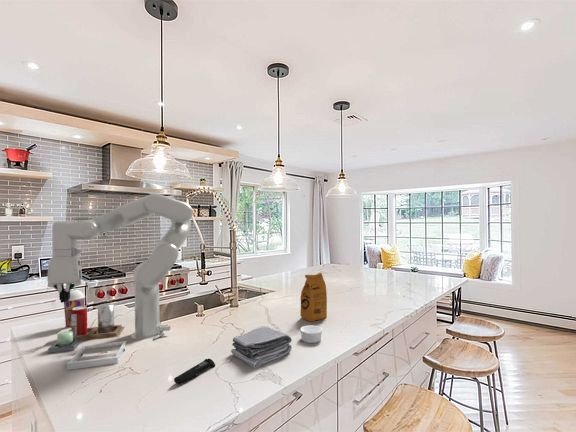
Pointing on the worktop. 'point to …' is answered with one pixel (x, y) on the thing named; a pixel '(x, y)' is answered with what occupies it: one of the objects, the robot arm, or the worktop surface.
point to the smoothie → (73, 304)
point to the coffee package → (314, 298)
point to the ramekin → (311, 334)
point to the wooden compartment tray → (94, 335)
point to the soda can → (79, 321)
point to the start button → (65, 338)
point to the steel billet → (106, 318)
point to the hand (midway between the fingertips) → (64, 301)
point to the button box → (72, 347)
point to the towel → (261, 346)
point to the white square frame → (96, 362)
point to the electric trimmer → (194, 371)
